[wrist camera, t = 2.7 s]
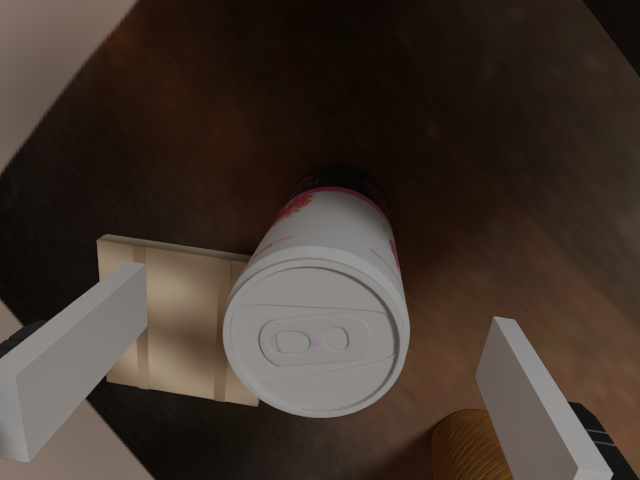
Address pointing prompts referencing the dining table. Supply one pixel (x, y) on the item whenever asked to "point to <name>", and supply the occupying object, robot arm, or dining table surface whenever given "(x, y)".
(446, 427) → the disposable coffee cup
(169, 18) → the dining table surface
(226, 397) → the trivet
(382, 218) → the beverage can
